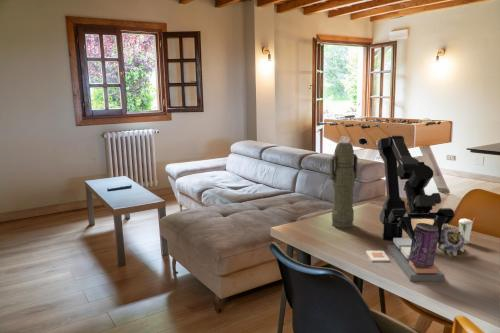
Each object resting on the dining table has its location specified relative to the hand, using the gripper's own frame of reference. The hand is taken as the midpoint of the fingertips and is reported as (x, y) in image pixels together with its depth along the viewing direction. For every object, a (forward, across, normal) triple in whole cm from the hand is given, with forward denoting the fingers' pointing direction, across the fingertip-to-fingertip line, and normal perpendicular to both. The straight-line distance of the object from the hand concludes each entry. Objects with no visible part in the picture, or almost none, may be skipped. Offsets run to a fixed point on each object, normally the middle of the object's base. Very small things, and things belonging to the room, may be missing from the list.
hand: (426, 241), depth 124 cm
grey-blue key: (-7, 0, +19) cm, 20 cm away
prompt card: (-3, -10, +20) cm, 22 cm away
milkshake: (-12, +25, +29) cm, 40 cm away
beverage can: (+5, -1, +6) cm, 8 cm away
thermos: (-26, -16, +43) cm, 53 cm away
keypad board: (+2, 0, +15) cm, 15 cm away
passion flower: (-6, +16, +23) cm, 28 cm away
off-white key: (-1, 0, +13) cm, 13 cm away
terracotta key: (+6, 0, +7) cm, 9 cm away
